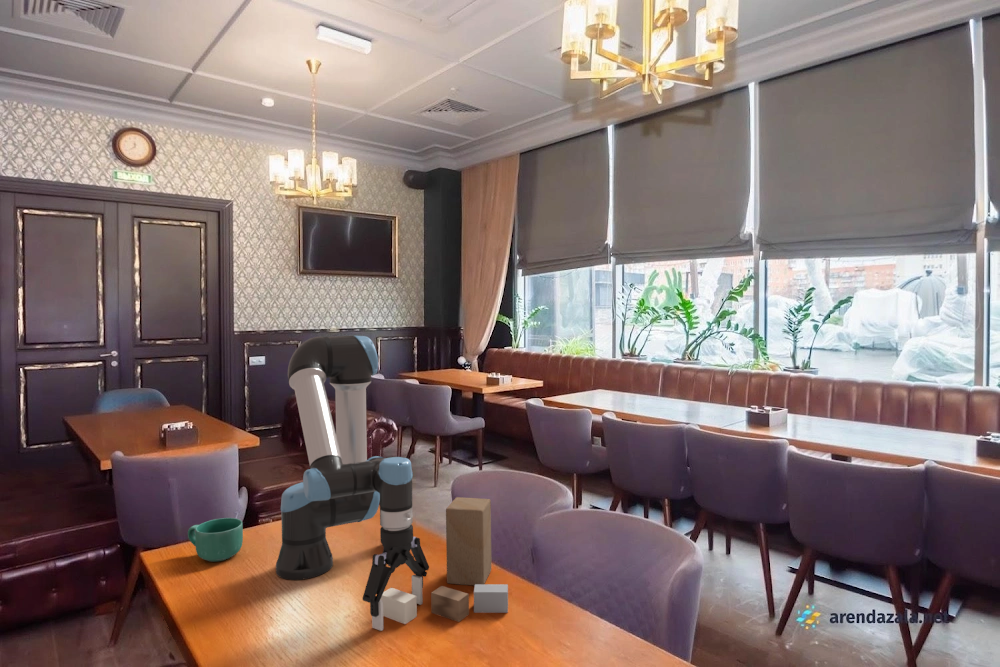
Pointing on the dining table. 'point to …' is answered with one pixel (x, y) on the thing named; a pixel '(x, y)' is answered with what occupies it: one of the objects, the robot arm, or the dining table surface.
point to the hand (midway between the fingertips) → (398, 615)
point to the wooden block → (468, 541)
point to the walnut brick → (450, 603)
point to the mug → (217, 538)
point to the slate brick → (491, 598)
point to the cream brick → (399, 605)
